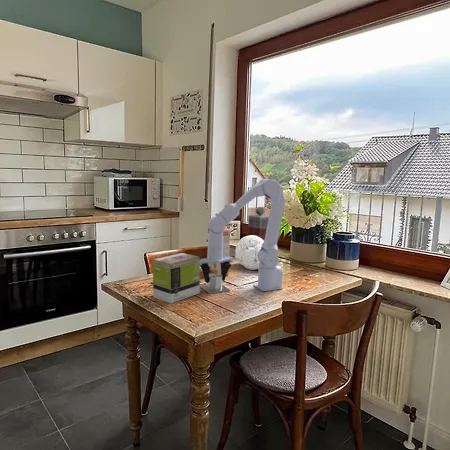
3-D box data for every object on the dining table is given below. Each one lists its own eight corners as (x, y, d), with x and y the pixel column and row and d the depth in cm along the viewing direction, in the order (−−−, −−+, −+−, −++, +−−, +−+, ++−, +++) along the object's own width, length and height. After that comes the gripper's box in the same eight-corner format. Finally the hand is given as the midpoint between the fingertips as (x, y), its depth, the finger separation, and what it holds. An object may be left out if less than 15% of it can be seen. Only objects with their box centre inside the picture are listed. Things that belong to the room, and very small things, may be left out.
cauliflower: (223, 247, 181) (245, 224, 178) (245, 259, 192) (266, 237, 189) (240, 274, 167) (264, 248, 163) (262, 285, 178) (285, 261, 174)
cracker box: (229, 275, 162) (230, 230, 159) (216, 276, 160) (218, 230, 157) (218, 268, 175) (219, 225, 172) (206, 268, 173) (207, 225, 170)
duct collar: (205, 286, 144) (205, 274, 143) (218, 284, 147) (218, 272, 146) (211, 290, 139) (211, 278, 138) (224, 288, 142) (224, 276, 141)
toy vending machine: (254, 253, 210) (256, 205, 206) (269, 257, 202) (271, 207, 198) (243, 255, 204) (245, 206, 200) (258, 259, 196) (261, 208, 192)
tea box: (181, 288, 143) (182, 251, 141) (200, 294, 137) (201, 256, 135) (152, 297, 132) (152, 258, 129) (170, 304, 125) (171, 263, 123)
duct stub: (220, 284, 149) (220, 271, 148) (229, 291, 141) (230, 277, 140) (199, 286, 145) (200, 273, 144) (208, 293, 137) (209, 279, 136)
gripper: (202, 250, 134) (201, 286, 136) (236, 248, 140) (235, 282, 142) (195, 247, 140) (195, 280, 142) (228, 245, 147) (227, 277, 149)
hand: (214, 281), depth 143 cm, fingers open, 6 cm apart
